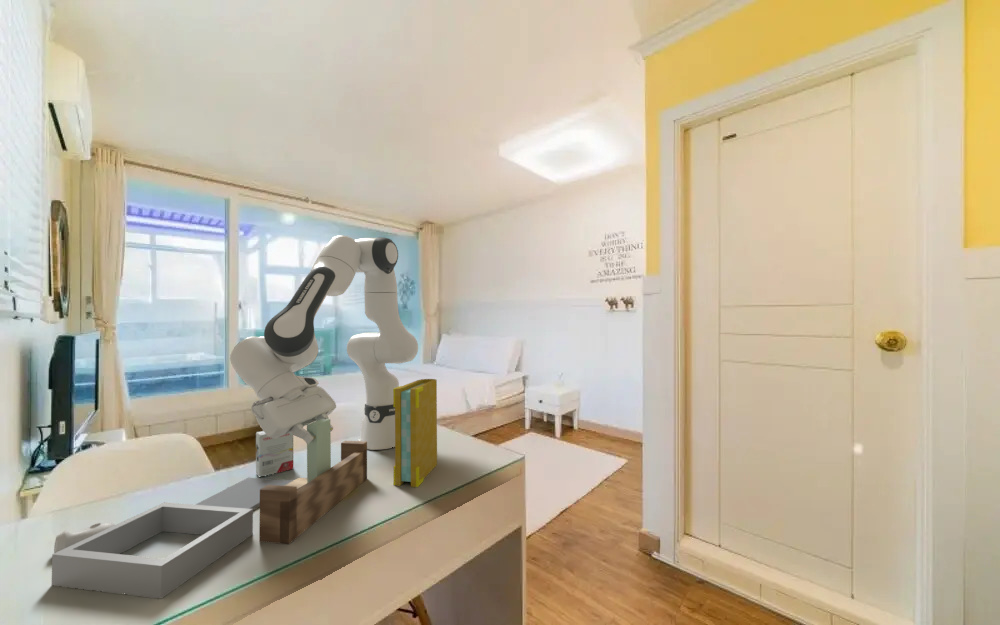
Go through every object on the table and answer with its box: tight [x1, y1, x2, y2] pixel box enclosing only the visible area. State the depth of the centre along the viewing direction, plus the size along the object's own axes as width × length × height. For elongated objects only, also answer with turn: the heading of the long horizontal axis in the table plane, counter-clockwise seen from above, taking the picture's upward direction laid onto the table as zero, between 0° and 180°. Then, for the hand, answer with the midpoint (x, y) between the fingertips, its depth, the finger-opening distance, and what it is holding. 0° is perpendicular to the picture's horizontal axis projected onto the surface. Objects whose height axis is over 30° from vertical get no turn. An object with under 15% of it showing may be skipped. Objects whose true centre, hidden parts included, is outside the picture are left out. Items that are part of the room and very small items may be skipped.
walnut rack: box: [258, 440, 368, 545], centre depth 83 cm, size 29×6×10 cm, turn 172°
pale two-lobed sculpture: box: [53, 522, 116, 554], centre depth 69 cm, size 4×8×5 cm
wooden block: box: [285, 477, 307, 490], centre depth 85 cm, size 12×5×4 cm, turn 167°
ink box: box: [255, 430, 294, 478], centre depth 103 cm, size 9×5×12 cm, turn 134°
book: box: [393, 378, 438, 488], centre depth 101 cm, size 17×7×25 cm, turn 168°
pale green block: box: [306, 418, 332, 483], centre depth 84 cm, size 5×2×14 cm, turn 171°
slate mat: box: [194, 477, 295, 511], centre depth 86 cm, size 18×14×1 cm
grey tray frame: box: [51, 502, 254, 600], centre depth 65 cm, size 17×21×5 cm
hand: (321, 436), depth 84 cm, fingers closed on pale green block, 5 cm apart
